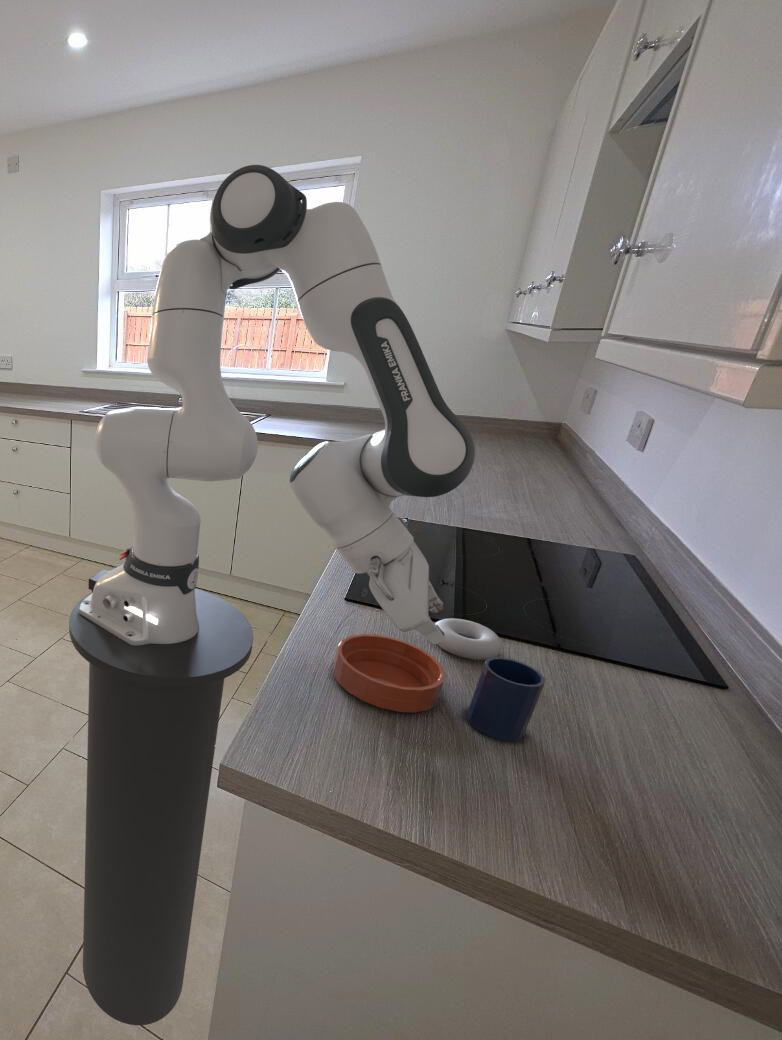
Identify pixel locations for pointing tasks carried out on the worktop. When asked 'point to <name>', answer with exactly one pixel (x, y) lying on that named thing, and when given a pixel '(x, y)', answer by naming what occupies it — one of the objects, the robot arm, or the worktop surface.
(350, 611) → the worktop surface
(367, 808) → the worktop surface
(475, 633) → the donut
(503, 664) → the cup
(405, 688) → the bowl
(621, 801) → the worktop surface
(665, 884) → the worktop surface
